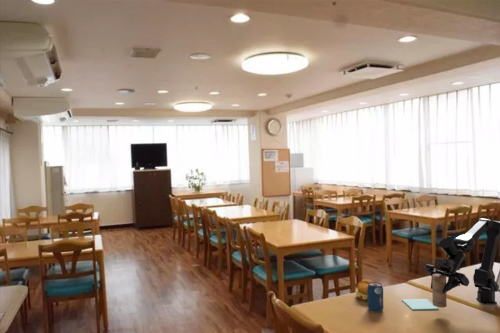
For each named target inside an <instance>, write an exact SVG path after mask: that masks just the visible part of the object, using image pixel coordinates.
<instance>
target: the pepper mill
mask: <svg viewBox="0 0 500 333" xmlns="http://www.w3.org/2000/svg"><path fill="white" fill-rule="evenodd" d="M431 280H432V289H431V290H432V303H433V305H434V306H436V307H438V308H446V307H447V292H446V293H443V289H444V287H445V285H446V284H447V277H446V275H443V274H433V275H432V276H431Z"/></svg>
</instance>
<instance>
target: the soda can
mask: <svg viewBox="0 0 500 333" xmlns="http://www.w3.org/2000/svg"><path fill="white" fill-rule="evenodd" d="M382 285H383V283H380V282H377V281H372V282H370V283H369V285H368V287H367V296H368V300H367V308H368V310H369V312H372V313H381V312H382V311H383V310H384V287H383V286H382Z"/></svg>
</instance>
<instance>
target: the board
mask: <svg viewBox="0 0 500 333" xmlns="http://www.w3.org/2000/svg"><path fill="white" fill-rule="evenodd" d="M401 301H402V302H403V303H404V304H405V305H406V307H408V308H409V309H411V311H436V310H439V308H440V307H436V306H434V305H433V302H431V301H430V300H429V299H427V298H402V299H401Z"/></svg>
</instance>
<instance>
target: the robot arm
mask: <svg viewBox="0 0 500 333" xmlns="http://www.w3.org/2000/svg"><path fill="white" fill-rule="evenodd" d="M484 233H485V235H486V242H485V245H484V246H485V247H484V251H483V255H482V260H481V263H480V266H479V267H478V268H475V269H474V272H473V277H472V280H473V284H474V287H475V288H477V292H476V294H477V295H476V296H477V297H476V300H477V301H478V300H479V302H480V303H482V304H483V303H484V304H483V305H489V303H497V304H498V302H497V301H496V292H498V291H499V288H500V287H499V284H498V283H497V282H496V274H495V272H494V269H493V268H494V266H495V261H496V260H495V259H496V255H497V251H498V247H499V246H498V245H499V242H500V220H499V221H498V220H492V219H490V218H483V217H481V218H478V222H476V223H475V224H474V225H473V226H472V227H471V228H469V230H468V231H466V232H465V234H464V233H463V234H460V235H458V236H457V237H454V238H453V237H452V236H450V235H448V236H447V237H444V238H442V239H441V240H440V241H439V243H438V246H439V247H440V249H441V250H442V251H443V252H444V253H445V255H446V256H447V258H440V257H435V260H434V264H426V265H425V266H424V268H423V269H424V270H425V271H426V272H427V274H428V275H429V276H431V277H432V275H433V274H443V275H446V278H447V279H448V280H447V281H446V285H445V287H444V289H443V293H446V294H447V292H449V291H451V290H453V289H454V288H456V287H461V286H464V287H469V284H470V280H469V278H468V277H467V275H466V274H465V273H461V272H458V271H460V270H461V267H460V266H461V265H462V264H461V263H462V262H463V260H464V261H467V260H468V259H467V256H466V253H470V252H471V251H473V250H474V248H475V246H476V241H477V240H478V239H479V238H480V237H481V236H482V235H484ZM463 252H465V253H463ZM436 266H437V267H438V268H437V267H436ZM430 282H431V283H430V289H431V290H432V279H431V280H430ZM487 303H488V304H487Z"/></svg>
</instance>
